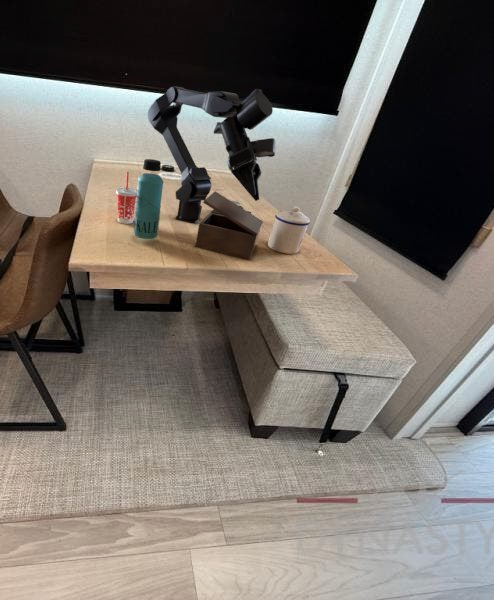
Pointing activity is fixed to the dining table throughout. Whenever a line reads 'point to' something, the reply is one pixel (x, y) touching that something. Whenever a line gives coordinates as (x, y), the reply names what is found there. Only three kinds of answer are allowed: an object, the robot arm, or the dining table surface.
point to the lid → (234, 212)
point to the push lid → (236, 203)
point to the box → (225, 236)
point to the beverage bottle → (148, 201)
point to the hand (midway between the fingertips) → (255, 197)
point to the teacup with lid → (288, 231)
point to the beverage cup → (126, 203)
